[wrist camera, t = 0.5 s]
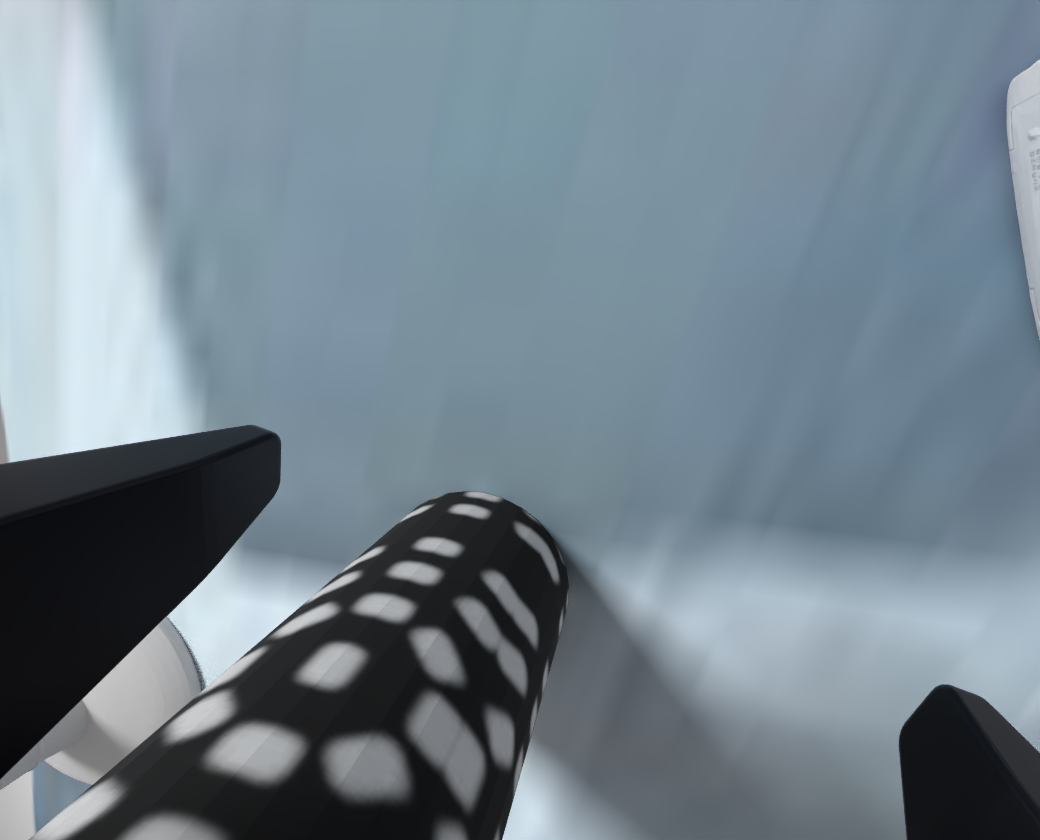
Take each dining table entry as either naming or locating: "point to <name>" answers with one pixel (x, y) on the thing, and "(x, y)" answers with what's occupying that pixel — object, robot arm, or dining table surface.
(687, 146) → the dining table surface
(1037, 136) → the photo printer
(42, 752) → the candlestick
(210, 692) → the white-spotted black cylinder
